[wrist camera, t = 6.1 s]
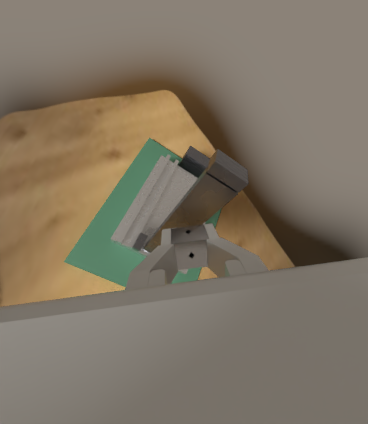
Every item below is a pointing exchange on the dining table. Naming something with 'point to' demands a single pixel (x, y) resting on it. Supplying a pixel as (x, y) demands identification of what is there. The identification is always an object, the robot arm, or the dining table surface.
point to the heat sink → (158, 199)
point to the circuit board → (110, 219)
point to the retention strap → (205, 196)
